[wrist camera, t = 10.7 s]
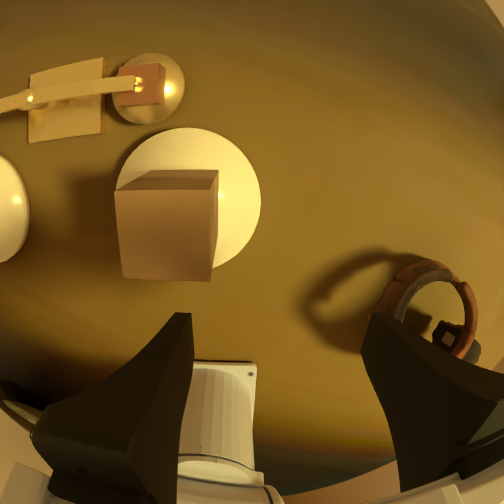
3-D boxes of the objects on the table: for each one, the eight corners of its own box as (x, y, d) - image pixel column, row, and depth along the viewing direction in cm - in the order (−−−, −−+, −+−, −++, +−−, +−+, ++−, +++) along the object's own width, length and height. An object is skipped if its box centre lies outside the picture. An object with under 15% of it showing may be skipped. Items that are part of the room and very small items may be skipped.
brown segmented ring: (331, 351, 25) (359, 374, 17) (368, 249, 26) (408, 231, 18) (437, 383, 24) (485, 406, 16) (467, 292, 25) (521, 289, 17)
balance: (186, 127, 17) (161, 128, 11) (-12, 152, 16) (-67, 167, 11) (189, 50, 15) (167, 17, 10) (-12, 92, 14) (-67, 94, 9)
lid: (83, 409, 27) (70, 442, 22) (82, 444, 30) (72, 473, 26) (7, 368, 25) (-12, 397, 20) (17, 411, 28) (3, 436, 24)
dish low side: (256, 266, 21) (256, 273, 20) (126, 263, 20) (122, 269, 20) (263, 129, 18) (264, 129, 17) (118, 131, 17) (112, 131, 16)
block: (217, 235, 19) (210, 281, 13) (154, 233, 19) (123, 278, 13) (218, 169, 17) (209, 190, 12) (151, 170, 17) (114, 190, 12)
